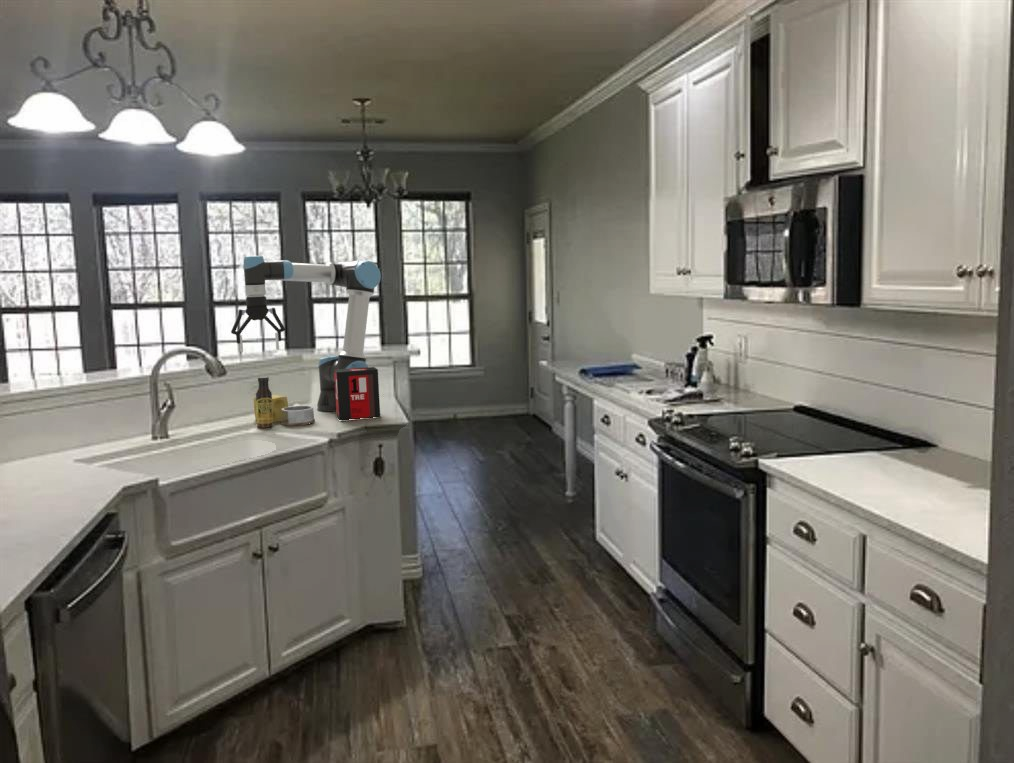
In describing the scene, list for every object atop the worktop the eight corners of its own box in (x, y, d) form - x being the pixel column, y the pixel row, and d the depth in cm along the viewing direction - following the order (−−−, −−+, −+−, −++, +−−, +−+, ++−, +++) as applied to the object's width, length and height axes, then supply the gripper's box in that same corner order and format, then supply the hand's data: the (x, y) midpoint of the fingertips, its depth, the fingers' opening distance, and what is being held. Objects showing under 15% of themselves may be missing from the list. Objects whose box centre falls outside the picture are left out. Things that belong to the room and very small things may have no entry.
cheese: (265, 424, 346) (263, 399, 344) (253, 420, 354) (252, 396, 352) (289, 420, 353) (287, 396, 351) (277, 417, 361) (275, 393, 359)
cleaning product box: (339, 421, 346) (336, 372, 343) (336, 417, 354) (333, 369, 351) (380, 417, 351) (377, 369, 348) (376, 414, 359) (374, 367, 356)
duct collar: (310, 416, 353) (310, 404, 352) (316, 421, 342) (315, 409, 341) (280, 419, 348) (279, 407, 348) (285, 424, 337) (284, 412, 337)
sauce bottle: (258, 429, 335) (254, 378, 332) (255, 426, 341) (252, 376, 338) (275, 427, 338) (271, 377, 335) (272, 424, 344) (269, 375, 341)
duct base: (311, 418, 354) (311, 416, 354) (317, 423, 342) (317, 421, 342) (279, 421, 349) (279, 419, 349) (284, 427, 337) (284, 424, 337)
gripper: (223, 297, 324) (227, 353, 327) (290, 294, 333) (293, 349, 336) (221, 297, 331) (225, 352, 334) (287, 294, 340) (290, 347, 343)
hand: (259, 350), depth 335 cm, fingers open, 13 cm apart
